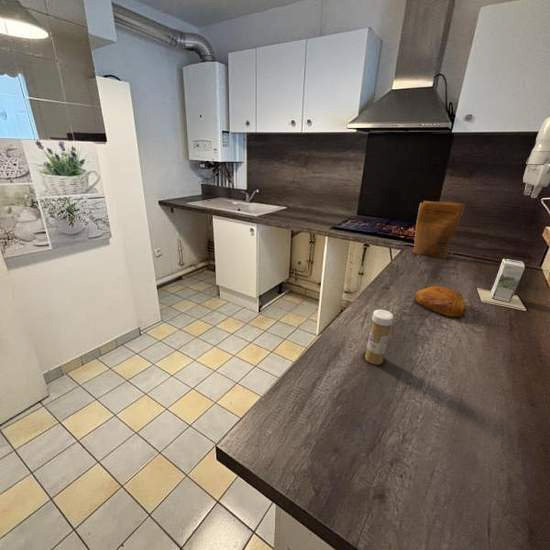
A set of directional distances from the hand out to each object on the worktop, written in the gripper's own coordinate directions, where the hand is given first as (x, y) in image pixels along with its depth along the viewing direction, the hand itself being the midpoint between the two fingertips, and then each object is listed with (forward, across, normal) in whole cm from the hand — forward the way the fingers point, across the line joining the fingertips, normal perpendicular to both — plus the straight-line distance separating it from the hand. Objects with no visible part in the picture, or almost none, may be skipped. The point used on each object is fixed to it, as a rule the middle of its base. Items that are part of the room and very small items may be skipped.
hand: (529, 196), depth 118 cm
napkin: (+34, -33, +6) cm, 48 cm away
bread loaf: (+34, -50, +26) cm, 66 cm away
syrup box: (+34, -33, +6) cm, 47 cm away
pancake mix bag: (+34, +8, +30) cm, 46 cm away
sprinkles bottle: (+34, -90, +42) cm, 105 cm away
